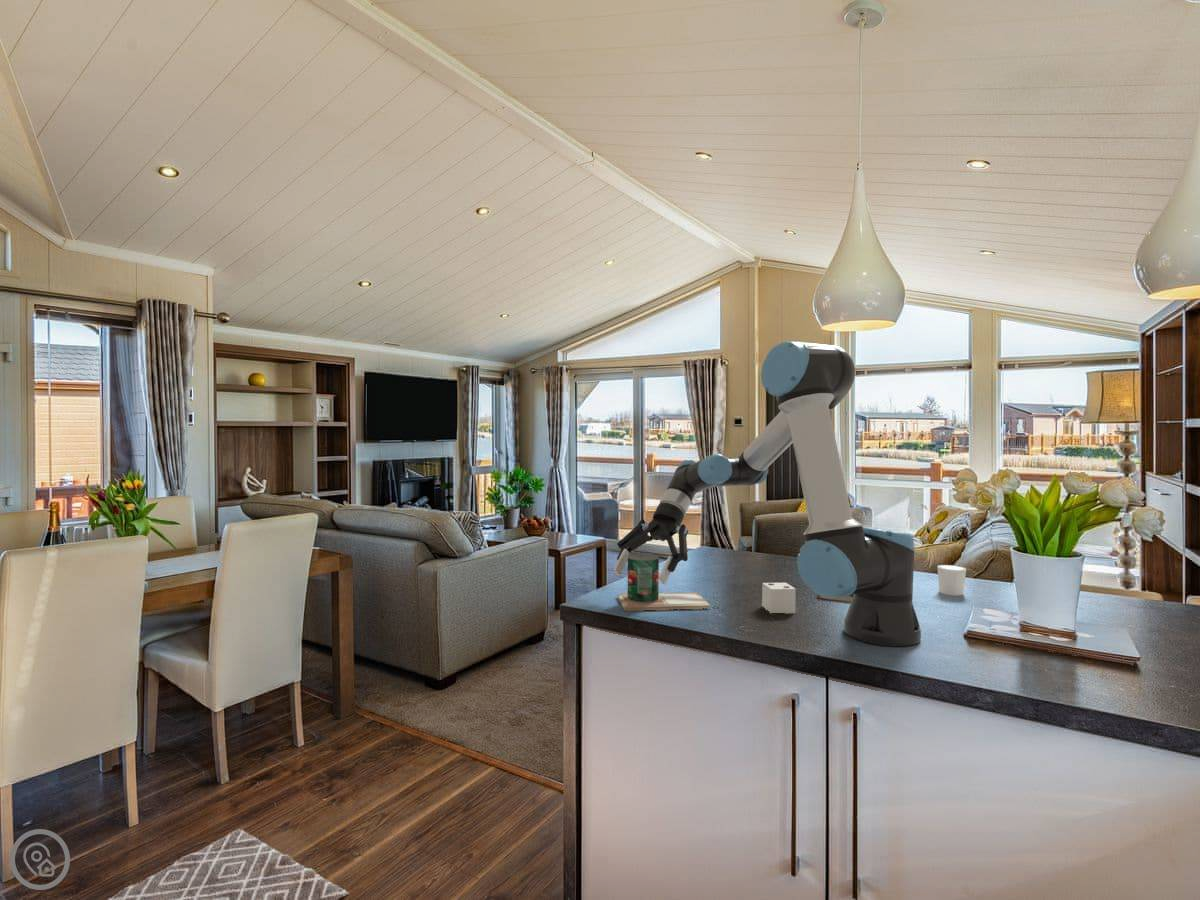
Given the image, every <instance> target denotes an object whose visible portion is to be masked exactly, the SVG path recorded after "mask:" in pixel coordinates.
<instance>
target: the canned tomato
mask: <svg viewBox="0 0 1200 900" xmlns="http://www.w3.org/2000/svg"><path fill="white" fill-rule="evenodd" d="M627 557H628V561H627V594H628V597H627V599H628V600H629V601H630V602H634V603H640V604H648V603H655V602H657V601H658V600H659V598H658V595H659V593H660V592H659V591H660V589H659V586H660V585H659V583H660V582H659V581H660V580H659V578H658V577H659V575H660V571H659V568H660V566H659V565H660V561H659V560H660V559H659V558H660V556H659V555H658V554H656V553H651V552H633V553H632V552H631V553H630V554H629V555H628V556H627Z"/></svg>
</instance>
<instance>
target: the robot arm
mask: <svg viewBox="0 0 1200 900" xmlns="http://www.w3.org/2000/svg"><path fill="white" fill-rule="evenodd" d="M855 376H856V366H855V363H854V361H853V359H852V357H851V355H850V354H849V353H848V352H847V350H845V349H843V348H842V347H840V346H837V345H835V344H827V343H826V344H824V343H823V344H822V343H821V344H820V343H816V342H815V343H814V342H813V343H812V342H805V341H804V342H803V341H800V340H794V341H781V342H780V343H777V344H776V345H774V346H773V347H772V348H771V349H770V350H769V351H768V353H767V354H766V357H765V359H764V360H763V362H762V365H761V370H760V380H761V384H762V387H763V389H764V391H766V392H768V394H770V395H771V396H773V397H776V402H777V407H778V410H780V411H779V413H778V414H777V415H776V416H774V418H772V420H771V421H770V422H769V423H768V424H767V425H766V427H765V428H764V429H763V430H761V432H760V433H759V434H758V435H757V436H756V438H755V439H753V441H751V443H750V444H749V445H748V446H746V448H745V449H744V450H743V452H741V453H740V455H738V456H736V457H735V456H734V457H727V456H724V455H722V454H720V453H715V454H714V453H713V454H712V455H707V456H706V457H703V458H702V459H700V460H699V461H696V460H693V459H690V460H688V459H685V460H682V461H681V462H680V463H679V465H678V466H677V467H676V469H675V471H674V473H673V475H672V477H671V480H670V482H669V483H668V486H667V487H666V489H665V492H664V493H663V495H662V497H661V498H660V500H659V504H658V505H657V506H656V508H655V511H654V513H653V517H652V520H651V521H649V522H647V521H646V520H645V519H641V520H639V522H638V524H637V525H636V526H635V527H634V528H632V529H631V531H629V532H628V533H627V534H626V535H625V536H624V537H623V538H621V539H620V540H619V541H618V542H617V543H616V545H617V547H618V548H619V550H620V551H619V554H618V555H617V557H616V560H617V562H616V563H615V565H614V567H613V571H614V572H615V575H617V577H618V576H619V577H620V576H622V573H623V572H624V569H625V568H626V565H627V564H628V557H627V556H628V555H629V554H631V553H632V552H633V551H635V550H637V548H640V547H641V546H643V545H645V544H646V543H647V542H652V541H653V540H654V541H661V542H665V541H666V542H667V544H668V547H669V550H670V552H671V555H668V557H667V559H666V561H665V564H664V565H663V567H662V570H661V571H660V572H659V577H658V578H659V581H660V582H661V584H662V585H666V584H667V582H668V580H669V577H670V575H671V573H674V572H675V570H676V568H677V566H678V564H679V562H681V561H683V562H687V561H688V559H689V557H688V542H687V540H688V539H687V535H688V533H689V529H687V526H686V524H682V523H683V520H684V518H685V516H686V514H687V513H688V510H689V508H690V507H691V506H690V505H691V504H692V502H693V500H694V497H695V495H696V494H697V493H700V492H702V491H705V490H708V489H710V488H717V487H733V486H753V485H759V484H762V483H764V481H766V480H767V476H768V474H769V467H770V466H771V465H772V464H773V463H774V462H775V461H776V460H777V459H778V458H779V457H780V456H781V455H782V454H784V452H785V451H786V450H788V448H789V447H790V446H791V445H793V450H794V456H795V459H796V460H795V461H796V464H797V470H798V474H799V480H800V484H801V489H802V490H801V491H802V494H803V500H804V505H805V510H806V514H807V518H808V523H809V524H808V526H807V528H806V529H805V531H804V532H803V539H804V541H805V542H804V544H803V545H802V546H801V547H800V549H799V553H798V554H797V560H796V562H797V569H798V573H799V575H800V577H801V579H802V581H803V583H804V584H805V585H806V586H807V587H808V588H809V589H811V590H812V592H814V593H815V594H817V596H818V595H820V596H823V597H828V598H833V597H847V596H849V595H852V594H853V599H852V601H851V602H850V605H849V607H848V610H847V612H846V616H845V617H844V620H843V621H844V623H843V627H844V628H843V630H844V631H843V632H844V633H845V634H846V635H847V636H849V637H850V638H852V639H855V640H857V641H861V642H864V643H868V644H871V645H872V644H873V645H876V646H877V645H879V646H886V647H910V646H914V645H915V646H916V645H917V644H919V643H920V642H921V639H922V635H921V634H922V631H921V630H922V629H921V626H920V623H919V620H918V616H917V613H916V610H915V607H914V604H913V595H914V591H913V590H914V568H915V565H914V563H915V562H914V561H915V557H914V556H915V553H916V551H915V543H914V541H915V540H914V537H913V536H912V534H910V533H909V532H906V531H902V530H896V529H888V528H882V527H873V526H863V524H862V523H860V522H859V521H858V520H856V519H854V517H853V513H852V509H851V504H850V499H849V494H848V490H847V487H846V481H845V475H844V473H843V468H842V464H841V459H840V454H839V448H838V445H837V439H836V434H835V431H834V426H833V422H832V416H831V412H830V411H832V410H833V409H834V408H835V407H836V406H837V405H839V404H840V402H841V401H843V400H844V398H845V397H846V396H847V394H849V392H850V390H851V388H852V386H853V384H854V381H855V378H856V377H855ZM676 534H678V546H679V547H678V549H679V550H678V549H677V547H676V546H677V545H676V544H675V540H674V538H673V536H674V535H676ZM678 551H679V552H678Z"/></svg>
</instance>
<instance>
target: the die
mask: <svg viewBox="0 0 1200 900" xmlns="http://www.w3.org/2000/svg"><path fill="white" fill-rule="evenodd" d="M761 586H762V589H761V590H762V591H761V592H762V593H761V599H762V600H761V607H762V606H763V607H764V608H765V609H764V608H763V607H762V608H763V609H764V610H766V611H767V610H768V611H769V612H770V613H769V612H768V611H767V612H768V613H769V614H771V613H785V614H796V598H797V597H796V596H797V595H796V591H797V589H796V588H795V587H794V586H792V585H790V584H789V583H787V582H762V585H761Z"/></svg>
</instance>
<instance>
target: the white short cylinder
mask: <svg viewBox="0 0 1200 900" xmlns="http://www.w3.org/2000/svg"><path fill="white" fill-rule="evenodd" d="M966 574H967V568H966V567H965V566H964V567H963V566H959V565H953V564H939V565H937V578H938V592H939V593H940V594H943V595H947V596H959V597H960V596H962V595H964V589H965V581H966Z"/></svg>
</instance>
